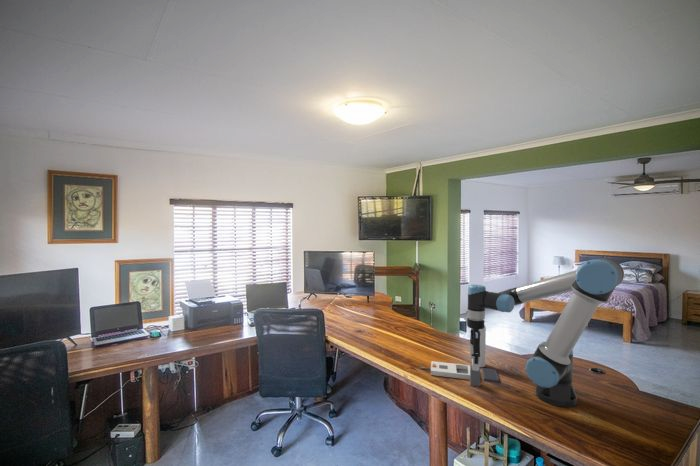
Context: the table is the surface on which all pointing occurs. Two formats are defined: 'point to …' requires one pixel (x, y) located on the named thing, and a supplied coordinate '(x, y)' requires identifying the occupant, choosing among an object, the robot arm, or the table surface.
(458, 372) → the power strip
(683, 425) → the table surface
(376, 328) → the table surface
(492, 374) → the phone
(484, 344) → the water bottle
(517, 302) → the robot arm
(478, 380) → the charger
